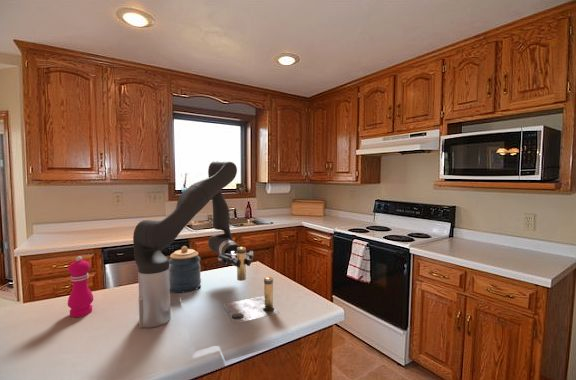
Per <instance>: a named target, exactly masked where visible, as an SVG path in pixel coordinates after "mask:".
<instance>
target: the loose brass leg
mask: <svg viewBox="0 0 576 380" xmlns="http://www.w3.org/2000/svg"><path fill="white" fill-rule="evenodd" d="M246 253H247V248H246V247H245V246H240V247H238V248H237V259H238V260H239V261H240V267H237V266H236V270H237V271H236V277H237V278H236V279H237V281H241V282H242V281H246V279H247V265H246Z"/></svg>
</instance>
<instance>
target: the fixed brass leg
mask: <svg viewBox="0 0 576 380" xmlns="http://www.w3.org/2000/svg"><path fill="white" fill-rule="evenodd" d="M263 288H264V289H263V290H264V292H263V296H264V310H265V311H272V310H273V306H274V278H273V277H272V276H266V277H264V278H263Z"/></svg>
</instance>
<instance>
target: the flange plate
mask: <svg viewBox="0 0 576 380" xmlns="http://www.w3.org/2000/svg"><path fill="white" fill-rule="evenodd" d="M222 306H223V308H224V310H225V311H226V313H227V315H228V317H229V318H230V320H231V321H232V324H233V325H235V324H239V323H240V324H241V323H244V322H247V321H252V320H256V319H260V318H265V317H269V316H273V315H277V314H280V313H281V312H280V311H279V310H278V309H277V308H276V306H274V305H273V310H272V311H265V310H264V295H262V296H261V295H260V296H256V297H251V298H245V299H240V300H236V301H231V302H227V303H223V304H222Z"/></svg>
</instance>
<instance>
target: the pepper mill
mask: <svg viewBox="0 0 576 380" xmlns="http://www.w3.org/2000/svg"><path fill="white" fill-rule="evenodd" d="M90 270H91V265H90V263H89V262H88V261H87V260H84V259H83V257H82V256H81V255H78V256H77V257H75V261H73V262H72V263H70V264H69V266H68V270H67V271H68V273H69V274H70V281H71V282H72V289H71V292H70V294H69V296H68V297H67V298H68V299H67V307H68V308H69V309H70V310H69V316H70V317H71V318H79V317H80V318H81V317H85V316H87V315H89V314H91V313H92V311H93V305H92V303H93V302H94V295H93V293H92V291H91V289H90V288H89V285H88V278H89V271H90Z"/></svg>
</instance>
